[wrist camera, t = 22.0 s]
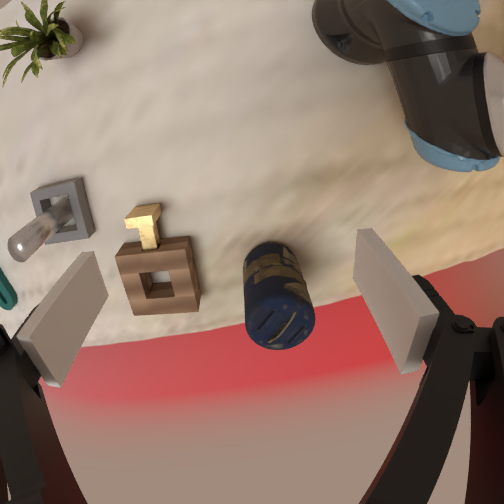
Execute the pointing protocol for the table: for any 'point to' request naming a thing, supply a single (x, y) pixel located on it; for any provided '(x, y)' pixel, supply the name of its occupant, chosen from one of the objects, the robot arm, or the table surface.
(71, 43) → the house plant
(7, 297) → the bracket
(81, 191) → the grey square frame
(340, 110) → the table surface
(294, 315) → the canister
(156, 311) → the socket block
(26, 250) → the grey rounded rod
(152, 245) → the yellow t-shaped block
